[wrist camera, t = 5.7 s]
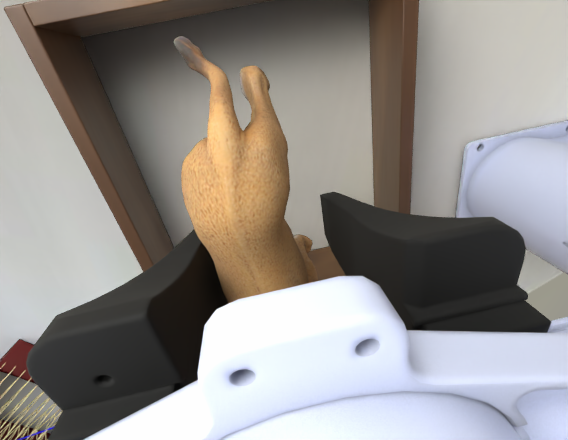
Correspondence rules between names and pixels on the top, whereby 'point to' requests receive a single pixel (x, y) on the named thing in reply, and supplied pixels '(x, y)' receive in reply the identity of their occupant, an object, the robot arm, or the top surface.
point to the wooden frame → (111, 141)
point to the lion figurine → (243, 188)
